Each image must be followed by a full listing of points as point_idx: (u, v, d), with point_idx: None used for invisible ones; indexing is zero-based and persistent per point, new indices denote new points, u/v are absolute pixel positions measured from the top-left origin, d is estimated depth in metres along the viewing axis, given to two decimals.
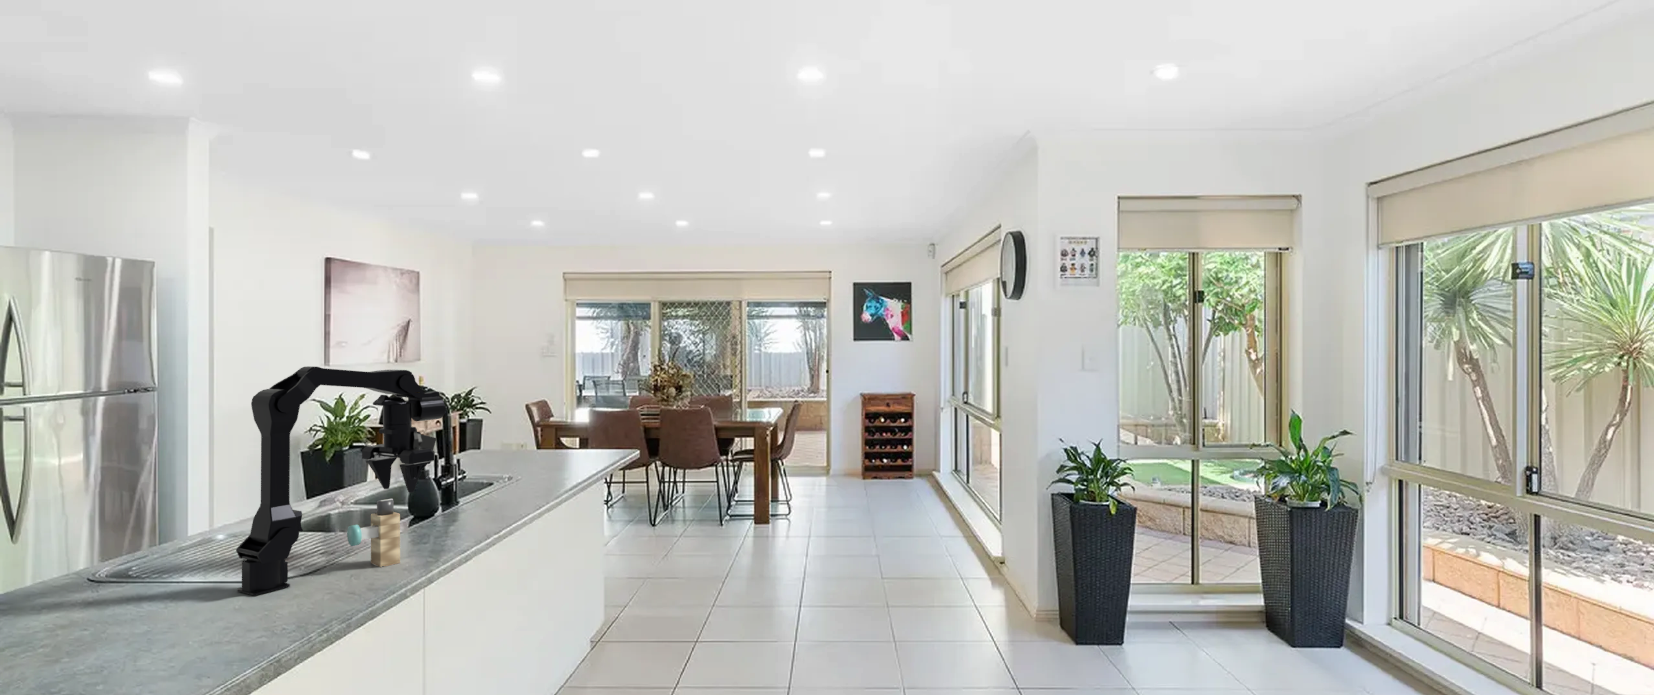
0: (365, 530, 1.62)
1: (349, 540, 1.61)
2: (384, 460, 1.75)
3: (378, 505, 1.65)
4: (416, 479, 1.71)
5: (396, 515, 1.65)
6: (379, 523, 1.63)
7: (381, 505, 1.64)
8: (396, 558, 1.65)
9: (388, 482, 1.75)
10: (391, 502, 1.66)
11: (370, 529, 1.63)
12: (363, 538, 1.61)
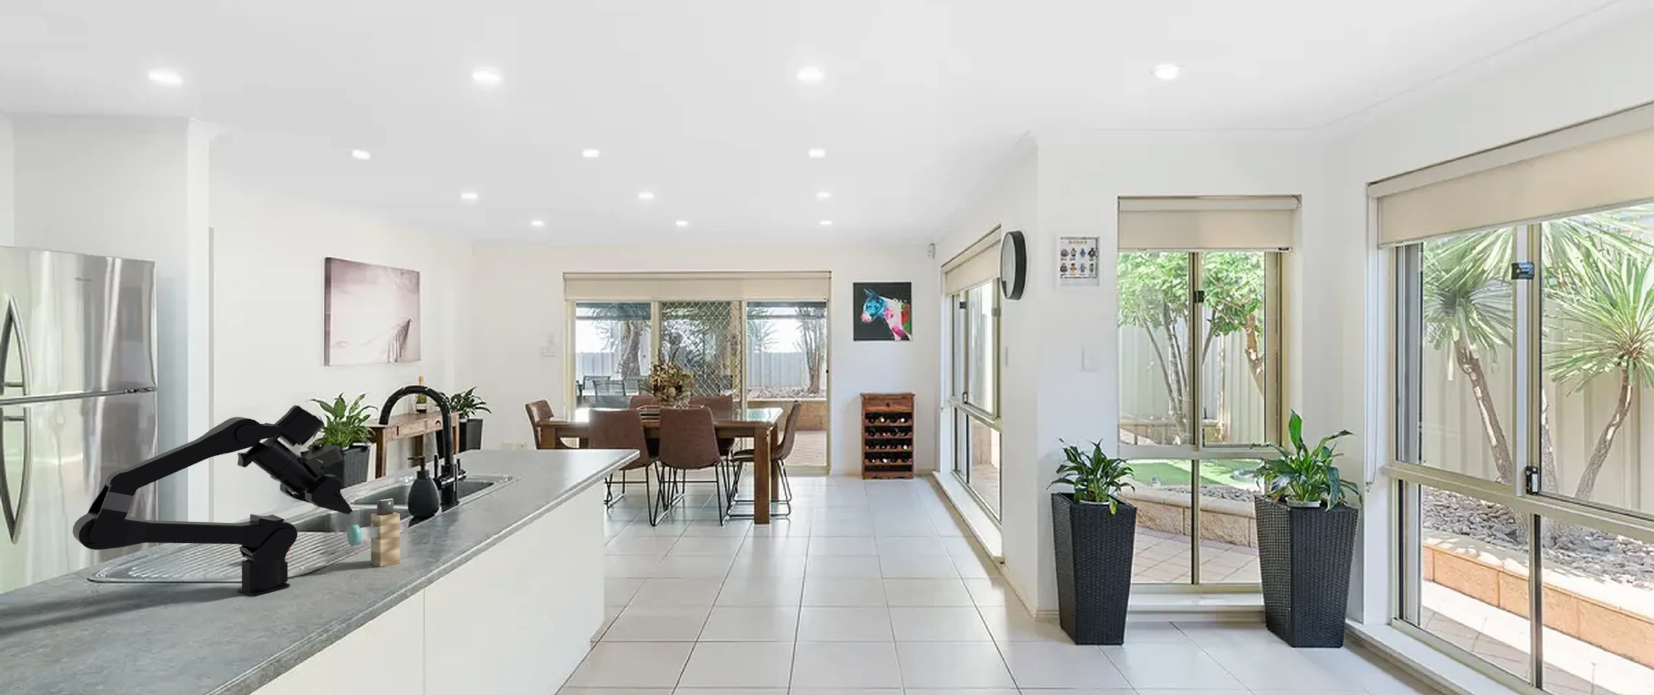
0: (365, 530, 1.62)
1: (349, 540, 1.61)
2: None
3: (378, 505, 1.65)
4: (343, 501, 1.55)
5: (396, 515, 1.65)
6: (379, 523, 1.63)
7: (381, 505, 1.64)
8: (396, 558, 1.65)
9: None
10: (391, 502, 1.66)
11: (370, 529, 1.63)
12: (363, 538, 1.61)
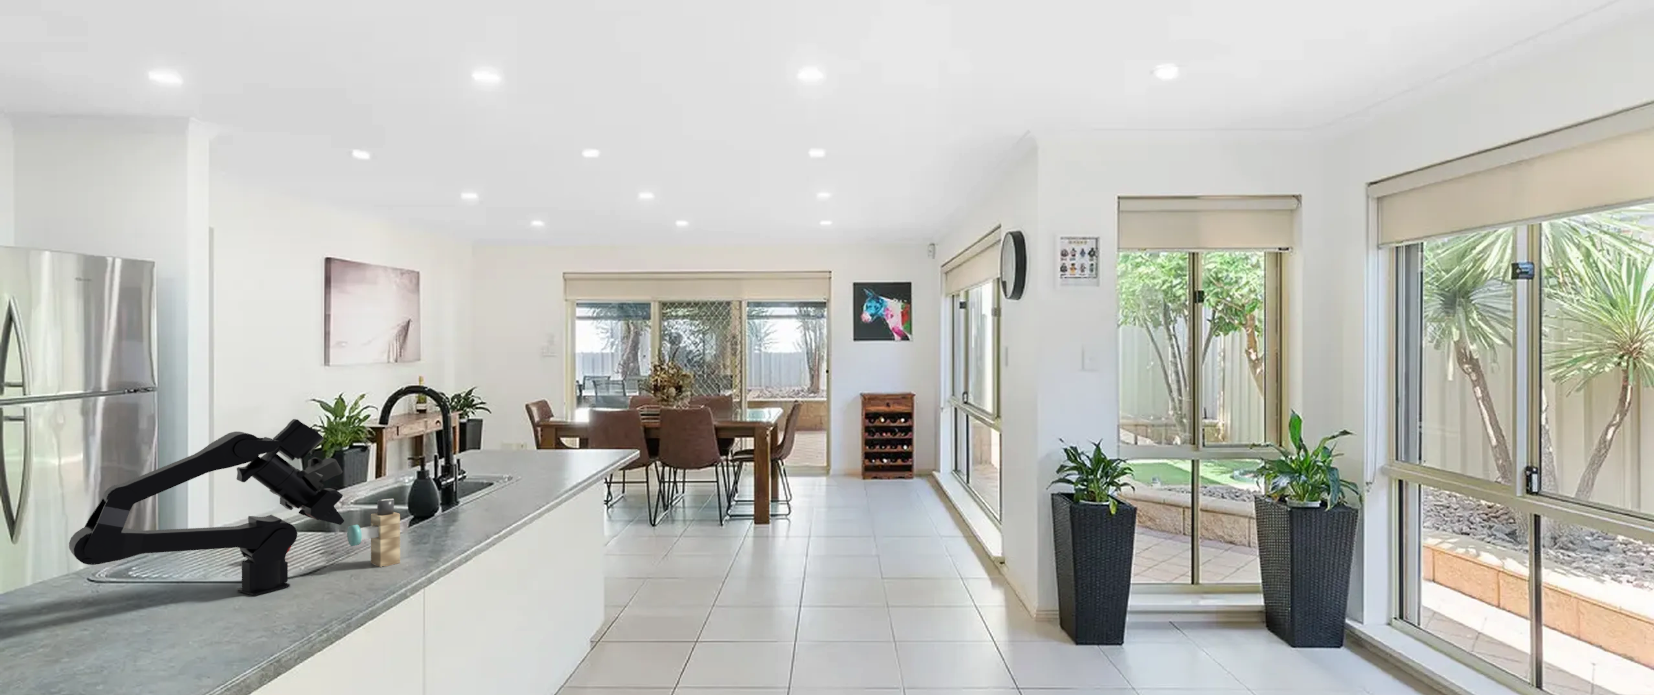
0: (365, 530, 1.62)
1: (349, 540, 1.61)
2: None
3: (378, 504, 1.65)
4: (335, 512, 1.57)
5: (396, 515, 1.65)
6: (379, 523, 1.63)
7: (381, 505, 1.64)
8: (396, 558, 1.65)
9: None
10: (391, 502, 1.66)
11: (370, 529, 1.63)
12: (363, 538, 1.61)
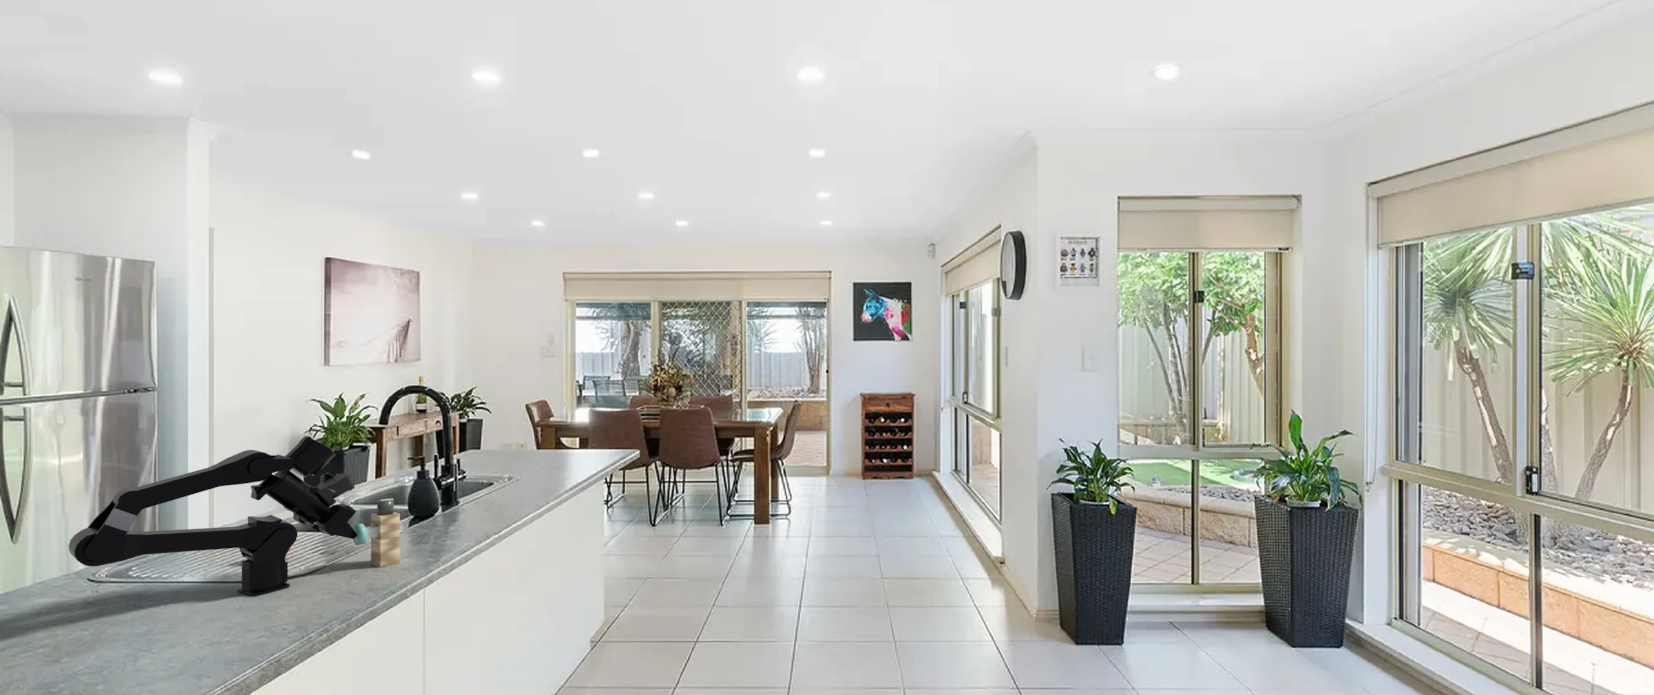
0: (370, 529, 1.63)
1: (354, 539, 1.62)
2: None
3: (377, 505, 1.65)
4: (348, 527, 1.59)
5: (396, 515, 1.65)
6: (379, 523, 1.63)
7: (380, 505, 1.64)
8: (396, 558, 1.65)
9: None
10: (390, 502, 1.65)
11: (375, 528, 1.63)
12: (368, 537, 1.62)
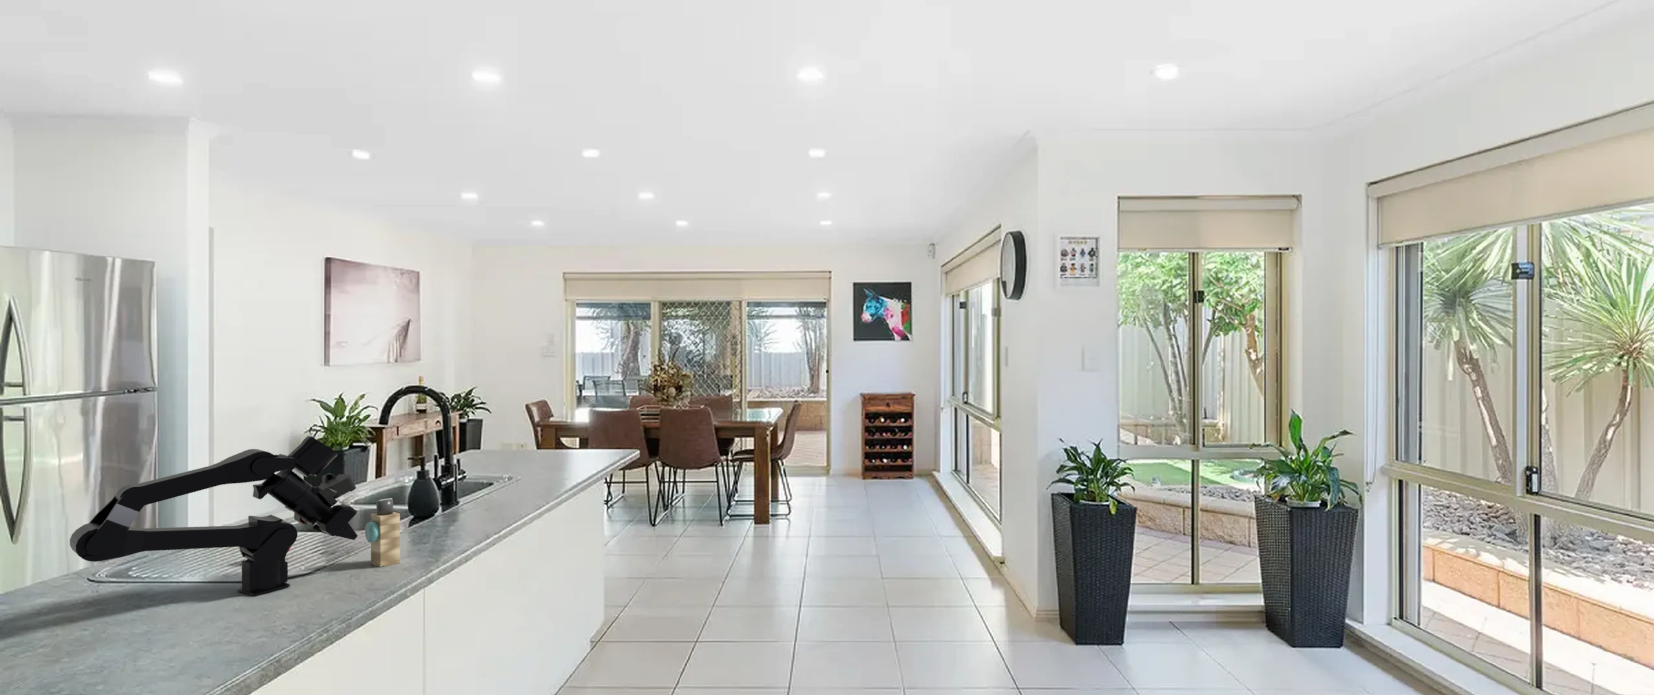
0: None
1: (367, 537, 1.64)
2: None
3: (376, 504, 1.65)
4: (349, 527, 1.59)
5: (396, 515, 1.65)
6: (379, 523, 1.63)
7: (378, 505, 1.64)
8: (396, 558, 1.65)
9: None
10: (388, 502, 1.65)
11: None
12: None
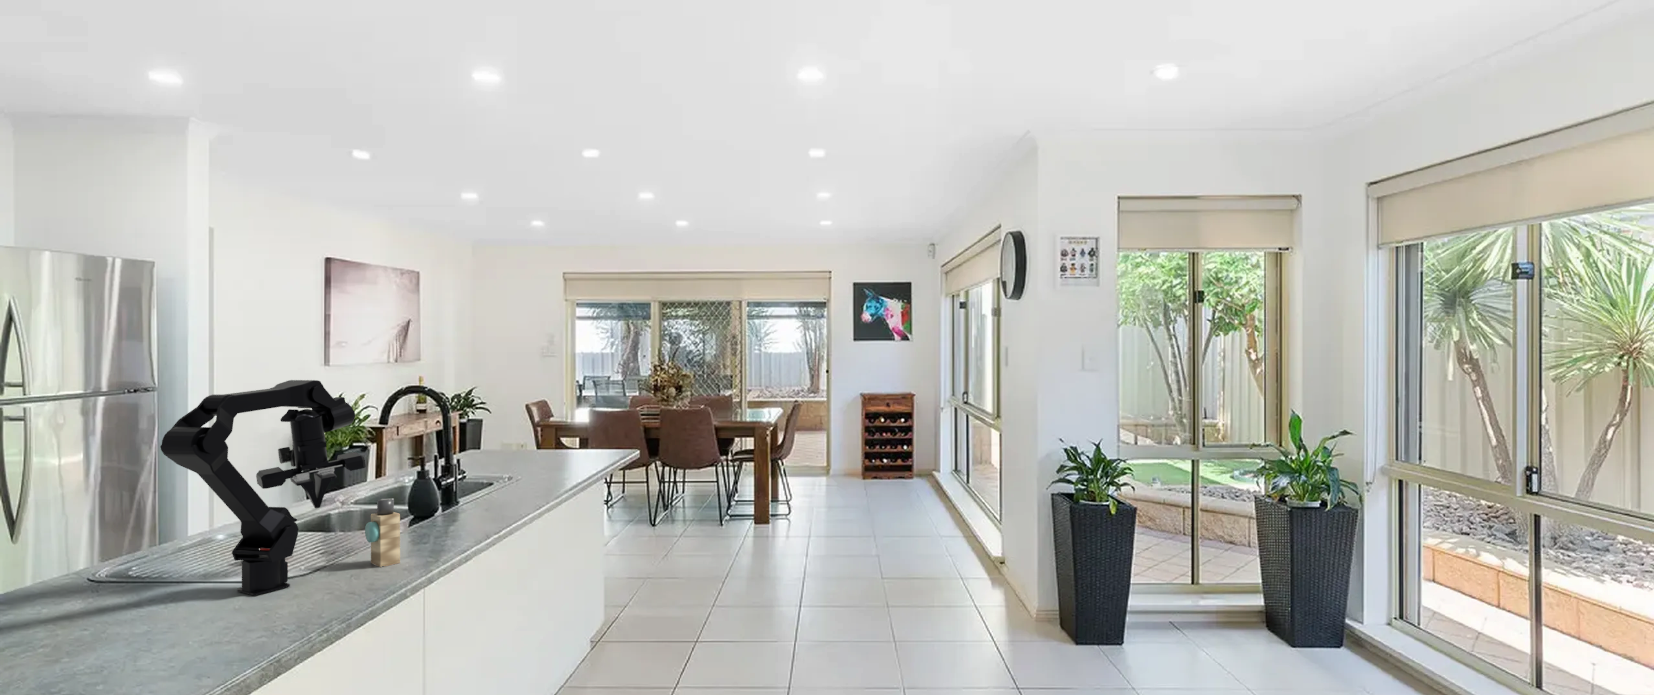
0: None
1: (367, 537, 1.64)
2: None
3: None
4: None
5: (396, 515, 1.65)
6: (379, 523, 1.63)
7: (377, 504, 1.65)
8: (396, 558, 1.65)
9: None
10: (386, 502, 1.65)
11: None
12: None
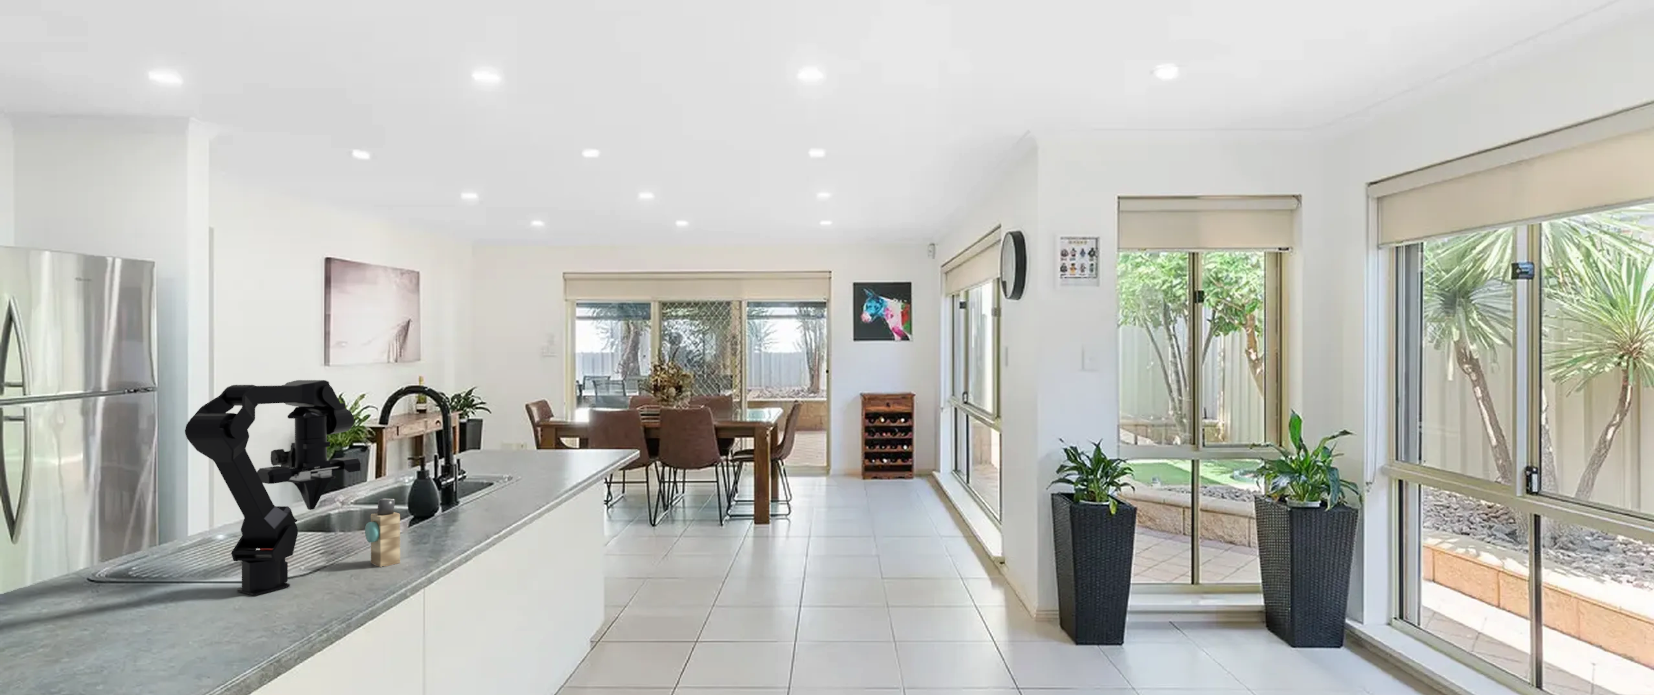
0: None
1: (367, 537, 1.64)
2: None
3: None
4: None
5: (396, 515, 1.65)
6: (379, 523, 1.63)
7: (378, 503, 1.65)
8: (396, 558, 1.65)
9: None
10: (385, 502, 1.65)
11: None
12: None
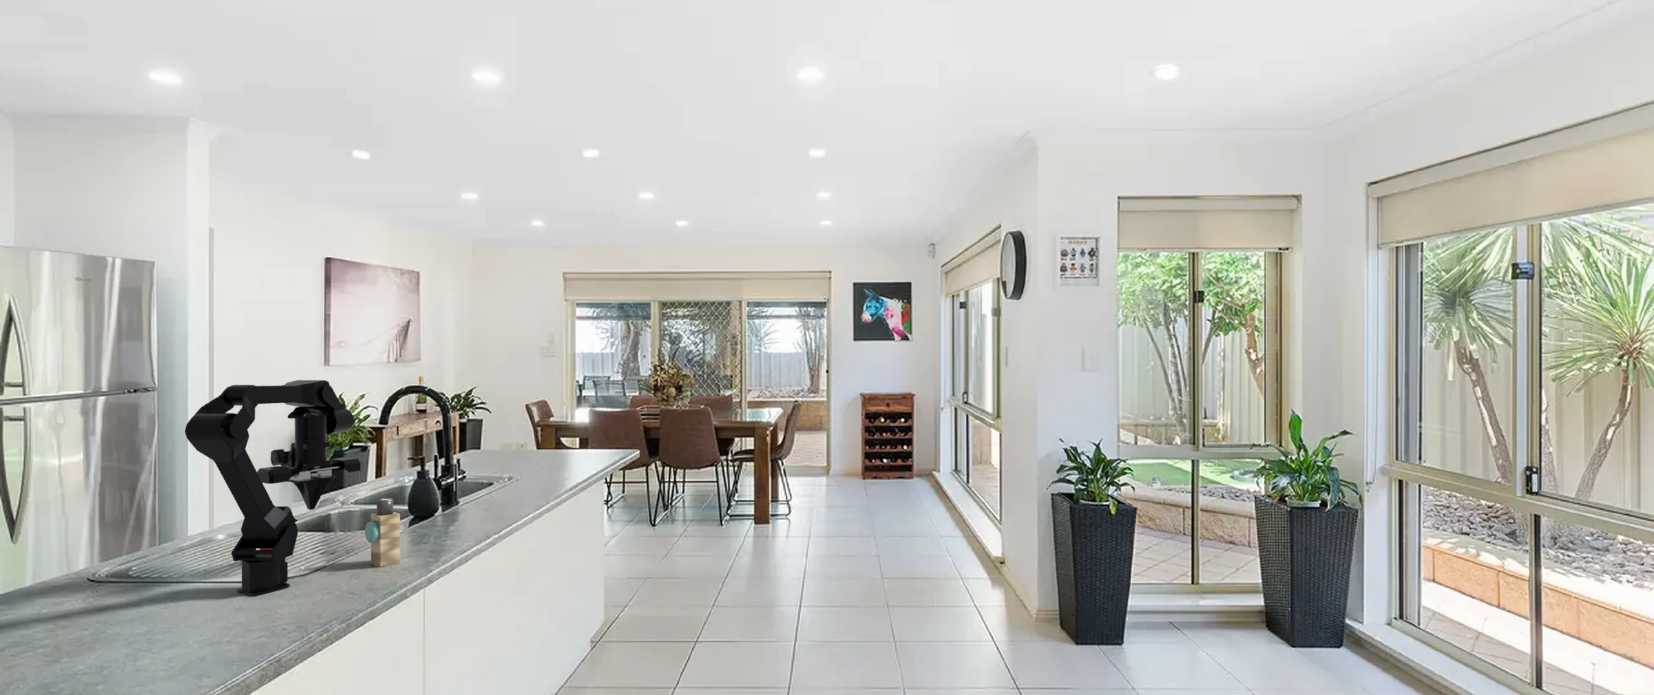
0: None
1: (367, 537, 1.64)
2: None
3: None
4: None
5: (396, 515, 1.65)
6: (379, 523, 1.63)
7: None
8: (396, 558, 1.65)
9: None
10: (382, 504, 1.64)
11: None
12: None
